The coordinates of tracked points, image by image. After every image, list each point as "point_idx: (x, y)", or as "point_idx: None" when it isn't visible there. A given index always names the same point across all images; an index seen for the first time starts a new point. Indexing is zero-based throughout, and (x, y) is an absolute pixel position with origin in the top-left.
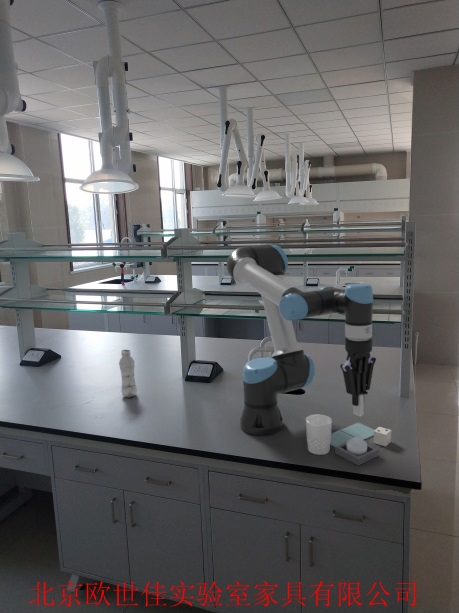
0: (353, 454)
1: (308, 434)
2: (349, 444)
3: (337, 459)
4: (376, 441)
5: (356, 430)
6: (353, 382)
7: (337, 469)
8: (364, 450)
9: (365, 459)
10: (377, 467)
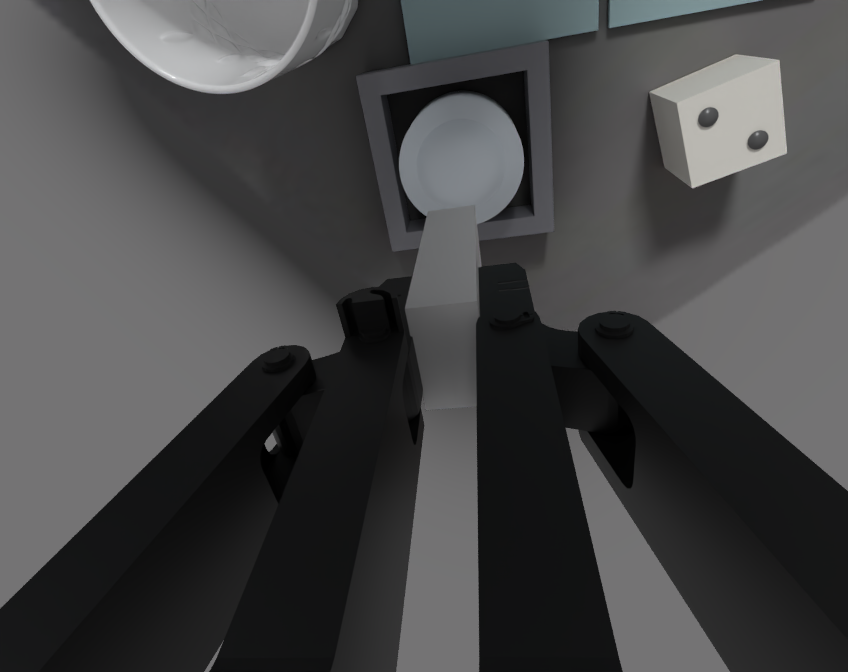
0: (398, 204)
1: None
2: (410, 156)
3: (336, 140)
4: (657, 112)
5: None
6: (232, 607)
7: (288, 216)
8: None
9: None
10: None
